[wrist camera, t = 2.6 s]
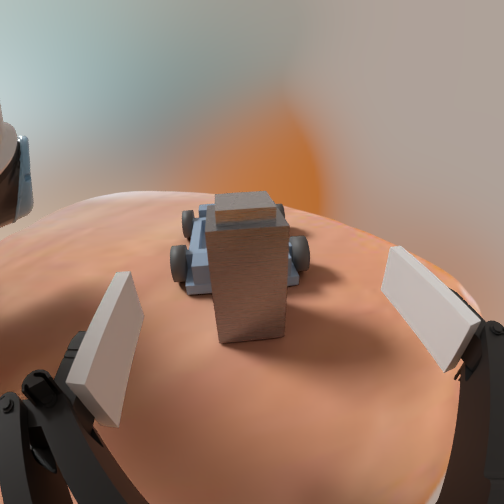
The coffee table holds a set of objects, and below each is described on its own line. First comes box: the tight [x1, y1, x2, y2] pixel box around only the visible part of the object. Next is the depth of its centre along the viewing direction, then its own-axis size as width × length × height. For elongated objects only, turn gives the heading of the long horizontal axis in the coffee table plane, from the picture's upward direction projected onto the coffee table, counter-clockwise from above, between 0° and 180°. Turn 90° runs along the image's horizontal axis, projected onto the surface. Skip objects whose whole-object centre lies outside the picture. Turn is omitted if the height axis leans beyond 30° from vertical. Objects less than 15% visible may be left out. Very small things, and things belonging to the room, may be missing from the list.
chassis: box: [170, 204, 310, 295], centre depth 39 cm, size 16×20×4 cm
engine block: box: [205, 191, 289, 343], centre depth 24 cm, size 6×6×12 cm
